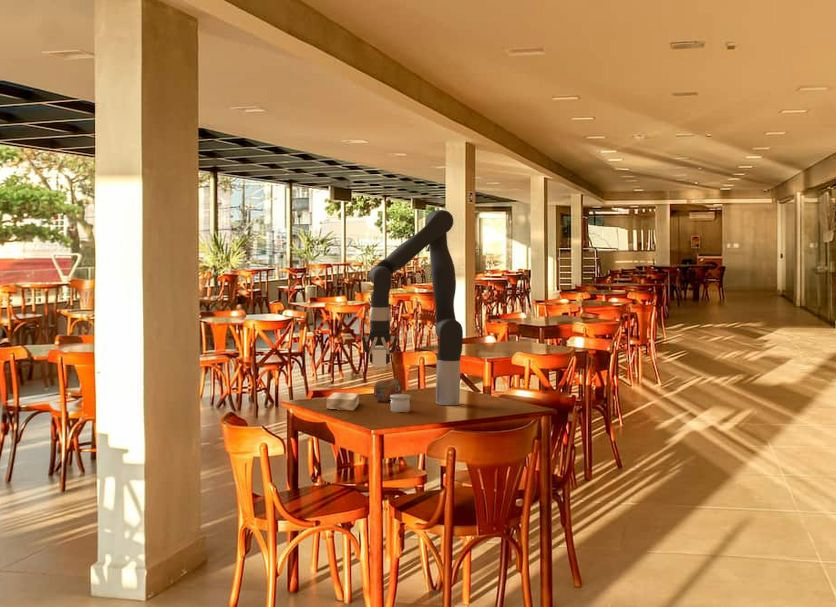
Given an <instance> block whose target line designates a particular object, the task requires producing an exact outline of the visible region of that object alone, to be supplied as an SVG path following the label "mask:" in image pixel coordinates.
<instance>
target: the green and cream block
mask: <svg viewBox="0 0 836 607" xmlns="http://www.w3.org/2000/svg"><path fill="white" fill-rule="evenodd" d="M372 350H373V364H372V368H386V367H387V366H388V364H386V354H387V353H386V350H387V348H384V346H375V348H372Z"/></svg>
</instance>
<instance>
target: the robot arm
mask: <svg viewBox="0 0 836 607" xmlns="http://www.w3.org/2000/svg"><path fill="white" fill-rule="evenodd" d="M424 224H425V226H424V227H422V228H421V230H419V231H418V232H417V233H416V234H414V235H413V236H411V237H409V238H408V239H407V240H405V241H403V243H401V244H400V245H399V246H397V247H396V248H395V249H394V250H393V251H392V252H391V253H390V254H389V255H388V256H387V257H385V258H384V259H382V260H381V261H379V262H378V263H376V264H375V265H374V266H373V267H372V268H371V269H370V271H369V272H368V279H369V281H370V283H372V284H373V285H372V292H371V294H370V311H369V334H368V335H366V336H362V337H361V341H362V345H363V350H364V353H367V354H369V363H370V364H371V365H373V350H372V348H375V347H384V348H387V350H386V353H387V354H386V364H387V365H389V363H391V354H393V353H394V352H395V351H396V347H397V343H398V339H399V337H398V336H393V335H392V334H391V331H390V330H391V329H390V327H391V325H390V324H391V323H390V322H391V317H390V316H391V315H390V314H391V311H390V291H391V284H392V275H394V273H396V272H397V271H400V270H401V269H403V268H404V267H405V266H406V265H407V264H408V263H410V261H412V260H413V259H414V258H415V257H416V256H417V255H419V253H420V252H422V251H423V249H425V248H426V247H427V246H429V260H430V273H431V283H432V291H433V292H432V293H433V299H434V304H435V333H436V334H435V335H436V336H437V337H438V340H439V341H438V350H437V353H436V369H435V370H436V373H435V374H436V375H435V377H436V378H435V379H436V380H435V404H436V405H439V406H460V402H461V401H460V397H461V396H460V395H461V394H460V393H461V357H462V352H463V344H464V343H463V342H464V340H463V339H464V334H463V333H464V330H463V327H462V324H461V323H460V322H459V321H458V320H457V318H456V315H455V297H456V290H457V289H456V287H457V280H456V269H455V264H454V262H453V258H452V256H451V253H450V250H449V247H448V236H447V234H448V232H449V231H450V230H452V228H453V226H454V217H453V215H452V214H451V212H449V211H447V210H445V209H438V210H437V209H436V210H432V211H430V212H429V213H428V214H427V215H426V217H425V222H424ZM390 340H391V342H392V346H391V349H390V347H389V344H388V343H389V341H390ZM368 341H370V342H371V343H372V344H371V347H370V349H369V347H368Z"/></svg>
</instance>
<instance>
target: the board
mask: <svg viewBox="0 0 836 607" xmlns="http://www.w3.org/2000/svg"><path fill="white" fill-rule="evenodd" d="M359 404H360V393H359V392H354V393H353V392H332V393H331V394H330V395H329V396H328V397H327V398H326V409H327V408H329V409H337V410H336V411H354V410H355V409H356V408H357V407H358V405H359Z"/></svg>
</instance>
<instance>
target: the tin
mask: <svg viewBox="0 0 836 607" xmlns="http://www.w3.org/2000/svg"><path fill="white" fill-rule="evenodd" d="M402 391H403V390H402V383H401V381H400V379H397V378H388V379H382V380H378V381H376V382H375V384H374V386H373V395H374V398H375V400H376V401H378V402H382V403H384V402H383V401H386V402H389V401H388V400H391V398H390V395H392V394H402Z"/></svg>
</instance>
